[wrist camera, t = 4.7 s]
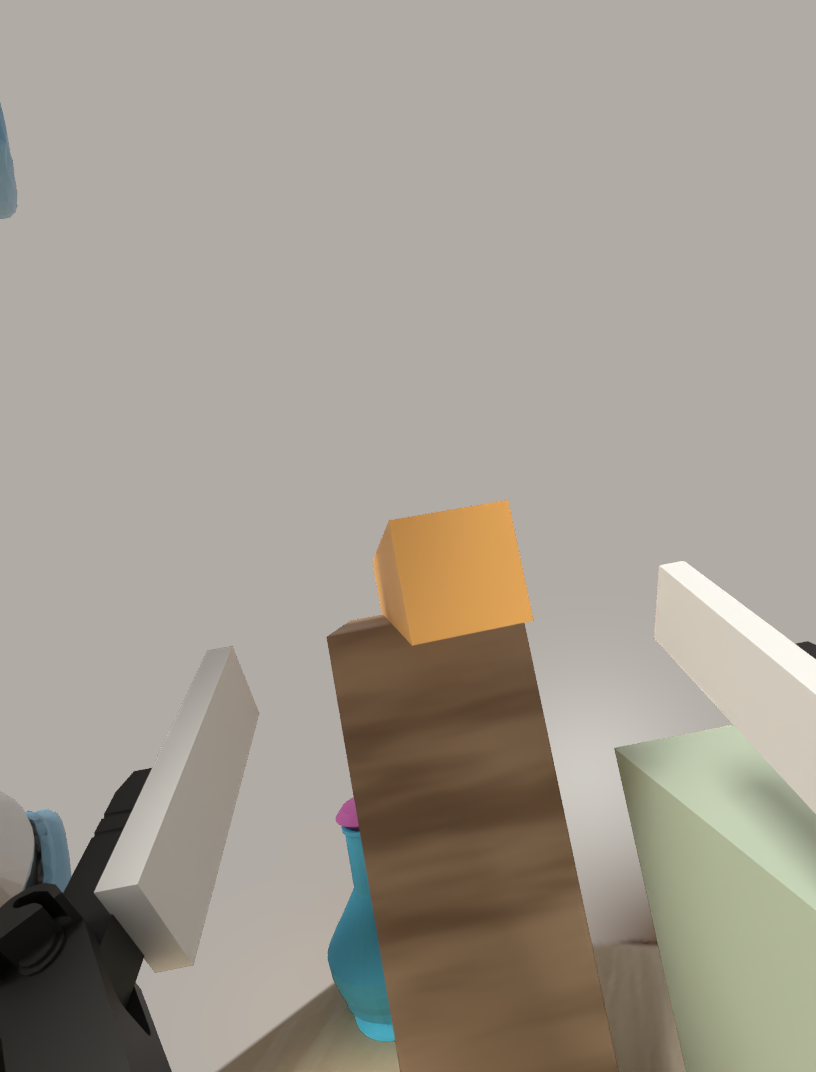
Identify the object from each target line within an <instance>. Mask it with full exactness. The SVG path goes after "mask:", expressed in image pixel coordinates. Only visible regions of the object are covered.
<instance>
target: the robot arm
mask: <svg viewBox="0 0 816 1072" xmlns="http://www.w3.org/2000/svg"><path fill="white" fill-rule="evenodd" d="M16 208H17V189H16V182H15V177H14V168H13V160H12V157H11V154H10V148H9V143H8V137H7V131H6V126H5V121H4V116H3V112H2V108H1V104H0V219H5V218H9V217H11V216H12V215H13V214H14V213H15V211H16ZM654 639H655V640H656V641H657V642H658V643H659V644H660V645H661V646H662V647H663V649H664V650H665V651H666V652H667V653H668V654H669V655H670V656H671V657H672V658H673V659H674V661H675V662H676V663H677V664H678V665H679V666H680V667H681V668H682V669H683V670H684V671H685V672H686V674H687V675H688V676H689V677H690V678H691V679H692V680H693V681H694V682H695V683H696V685H697V686H698V687H699V688H700V689H701V690H702V691H703V692H704V693H705V694H706V695H707V697H708V698H709V699H710V700H711V701H712V702H713V703H714V704H715V705H716V706H717V707H718V708H719V710H720V711H721V712H722V713H723V714H724V715H725V716H726V717H727V718H728V719H729V720H730V722H731V723H732V724H733V725H734V726H735V727H736V728H737V729H738V730H739V731H740V732H741V734H742V735H743V736H744V737H745V738H746V739H747V740H748V741H749V742H750V743H751V744H752V746H753V747H754V748H755V749H756V750H757V751H758V752H759V753H760V754H761V755H762V756H763V757H764V759H765V760H766V761H767V762H768V763H769V764H770V765H771V766H772V767H773V768H774V769H775V771H776V772H777V773H778V774H779V775H780V776H781V777H782V778H783V779H784V780H785V781H786V783H787V784H788V785H789V786H790V787H791V788H792V789H793V790H794V791H795V792H796V793H797V795H798V796H799V797H800V798H801V799H802V800H803V801H804V802H805V803H806V804H807V805H808V806H809V808H810V809H811V810H812V811H813V812H814V813H815V814H816V645H815V644H812V643H810V642H803V643H797V644H794V643H793V642H792V641H790V640H789V639H788V638H786V637H785V636H784V635H782V634H781V633H779V632H778V631H777V630H776V629H774V628H773V627H772V626H770V625H769V624H768V623H766V622H765V621H764V620H762V619H761V618H760V617H758V616H757V615H756V614H754V613H753V612H752V611H750V610H749V609H748V608H746V607H745V606H744V605H742V604H741V603H740V602H738V601H737V600H735V599H734V598H733V597H731V596H730V595H729V594H728V593H726V592H725V591H723V590H722V589H721V588H719V587H718V586H717V585H715V584H714V583H713V582H711V581H710V580H709V579H707V578H706V577H705V576H703V575H702V574H701V573H699V572H698V571H697V570H695V569H694V568H693V567H691V566H690V565H689V564H687V563H686V562H685V561H681V562H675V563H671V564H665V565H659V576H658V591H657V604H656V618H655V632H654ZM258 716H259V712H258V709H257V706H256V704H255V701H254V699H253V696H252V695H251V691H250V689H249V686H248V684H247V681H246V679H245V676H244V674H243V671H242V669H241V666H240V664H239V661H238V659H237V656H236V654H235V651H234V649H233V646H229V647H224V648H218V649H213V650H208V651H207V652H206V654H205V656H204V658H203V661H202V663H201V665H200V667H199V669H198V671H197V673H196V676H195V678H194V680H193V682H192V684H191V686H190V688H189V690H188V693H187V695H186V697H185V699H184V701H183V703H182V706H181V708H180V710H179V712H178V714H177V716H176V719H175V720H174V722H173V725H172V727H171V729H170V731H169V733H168V736H167V738H166V740H165V742H164V744H163V746H162V748H161V750H160V752H159V754H158V757H157V759H156V761H155V763H154V765H153V767H152V768H149V769H145V770H139V771H134V772H133V773H132V774H131V775H130V777H129V778H128V779H127V780H126V781H125V782H124V783H123V784H122V786H121V787H120V788H119V789H118V790H117V791H116V793H115V794H114V797H113V798H112V800H111V802H110V804H109V806H108V808H107V810H106V812H105V814H104V819H101V822H100V823H99V825H98V827H97V829H96V831H95V836H94V837H93V838H92V839H91V840H90V842H89V844H88V846H87V848H86V850H85V852H84V854H83V856H82V858H81V860H80V862H79V863H78V866H77V867H76V869H75V871H74V873H73V875H72V877H71V869H70V858H69V851H68V845H67V839H66V833H65V829H64V826H63V823H62V820H61V818H60V816H59V815H58V814H57V813H56V812H52V811H50V810H40V811H37V812H32V811H27V812H25V811H24V810H23V808H22V807H21V806H20V805H19V804H18V803H17V802H16V801H15V800H14V799H13V798H11V797H9V796H8V795H5V794H4V793H2V792H0V1072H172V1071H171V1069H170V1066H169V1063H168V1061H167V1058H166V1055H165V1053H164V1050H163V1048H162V1045H161V1042H160V1039H159V1037H158V1034H157V1031H156V1029H155V1026H154V1023H153V1020H152V1018H151V1015H150V1013H149V1010H148V1007H147V1004H146V1002H145V999H144V996H143V994H142V991H141V989H140V988H139V986H138V985H137V984H136V983H135V982H136V979H137V976H138V973H139V970H140V967H141V964H142V961H143V958H144V959H145V960H146V962H147V963H148V964H149V965H150V967H151V968H152V970H153V971H154V972H155V973H157V972H163V971H168V970H173V969H177V968H183V967H188V966H193V965H194V961H195V958H196V954H197V949H198V946H199V942H200V938H201V934H202V930H203V927H204V923H205V919H206V915H207V912H208V908H209V904H210V900H211V896H212V892H213V888H214V885H215V881H216V877H217V873H218V869H219V866H220V862H221V858H222V854H223V850H224V846H225V843H226V838H227V835H228V831H229V827H230V824H231V820H232V816H233V812H234V808H235V804H236V800H237V797H238V793H239V789H240V785H241V781H242V778H243V774H244V770H245V766H246V762H247V758H248V755H249V750H250V747H251V743H252V739H253V735H254V732H255V728H256V724H257V720H258Z"/></svg>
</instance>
